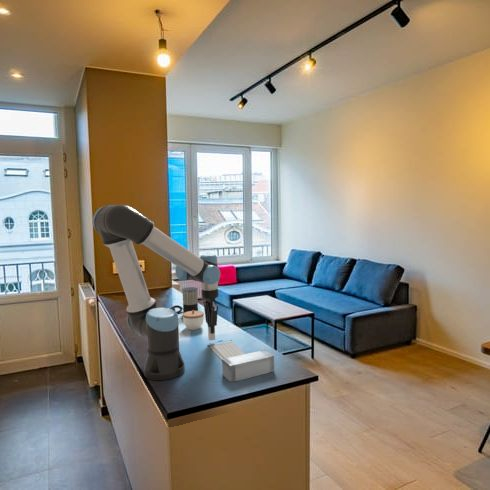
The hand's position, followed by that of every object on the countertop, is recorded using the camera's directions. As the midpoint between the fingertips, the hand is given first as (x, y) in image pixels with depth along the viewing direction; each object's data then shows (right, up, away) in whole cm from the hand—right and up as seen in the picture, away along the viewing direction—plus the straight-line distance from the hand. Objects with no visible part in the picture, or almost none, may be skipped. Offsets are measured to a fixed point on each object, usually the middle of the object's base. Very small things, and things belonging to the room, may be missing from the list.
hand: (211, 339), depth 175 cm
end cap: (+16, -5, -32) cm, 37 cm away
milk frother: (-21, +3, +52) cm, 56 cm away
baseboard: (+10, -4, -17) cm, 20 cm away
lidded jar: (-11, 0, +23) cm, 26 cm away
